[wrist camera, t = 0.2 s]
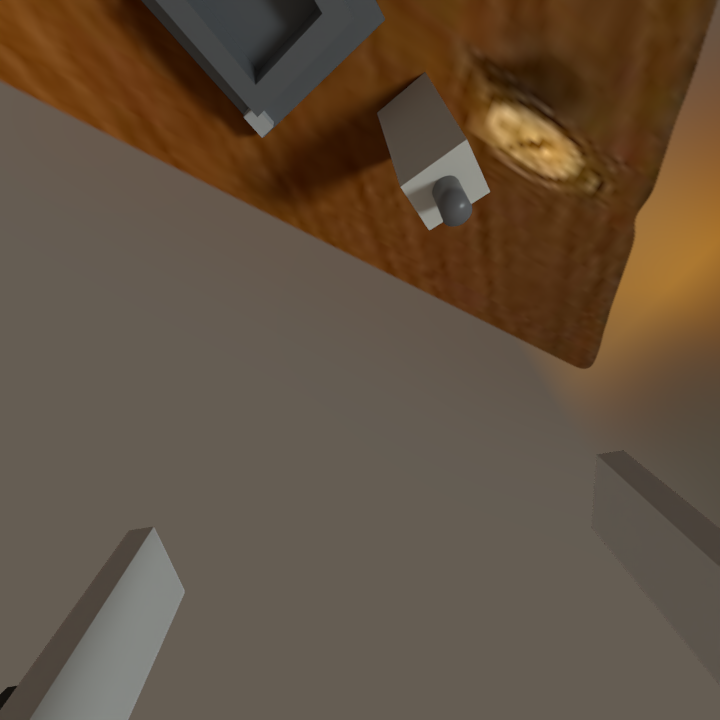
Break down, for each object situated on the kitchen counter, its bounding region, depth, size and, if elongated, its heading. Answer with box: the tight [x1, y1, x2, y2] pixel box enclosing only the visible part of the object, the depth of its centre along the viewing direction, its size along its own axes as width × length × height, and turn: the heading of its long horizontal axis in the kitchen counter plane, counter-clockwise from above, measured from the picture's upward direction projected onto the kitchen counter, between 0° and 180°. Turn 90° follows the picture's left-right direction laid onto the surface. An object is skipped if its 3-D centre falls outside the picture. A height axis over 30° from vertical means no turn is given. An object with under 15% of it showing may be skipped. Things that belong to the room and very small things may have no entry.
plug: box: [377, 72, 490, 230], centre depth 29 cm, size 4×5×16 cm
